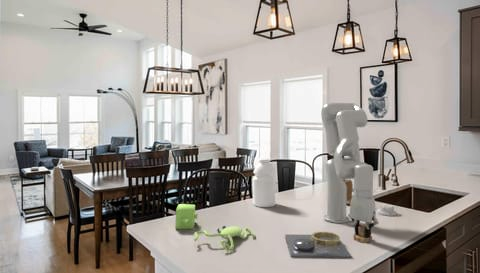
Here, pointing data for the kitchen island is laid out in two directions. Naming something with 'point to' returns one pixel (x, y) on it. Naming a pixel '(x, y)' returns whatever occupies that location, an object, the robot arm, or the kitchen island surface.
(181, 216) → the gearbox
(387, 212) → the mechanical component
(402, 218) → the kitchen island surface
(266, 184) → the bottle
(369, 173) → the robot arm
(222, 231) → the figurine
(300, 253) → the carrier plate
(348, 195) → the brown upright piece
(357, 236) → the planet gear
